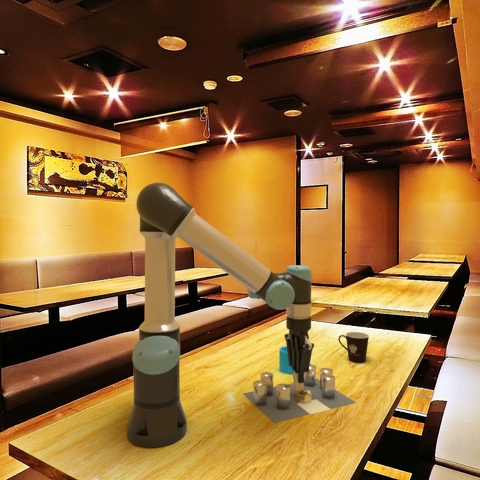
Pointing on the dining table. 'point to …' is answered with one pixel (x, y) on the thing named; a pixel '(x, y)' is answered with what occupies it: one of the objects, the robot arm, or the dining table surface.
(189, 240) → the robot arm
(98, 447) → the dining table surface
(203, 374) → the dining table surface
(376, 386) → the dining table surface
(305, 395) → the nut
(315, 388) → the mat
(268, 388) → the spacers
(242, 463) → the dining table surface
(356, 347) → the coffee mug
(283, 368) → the mug
